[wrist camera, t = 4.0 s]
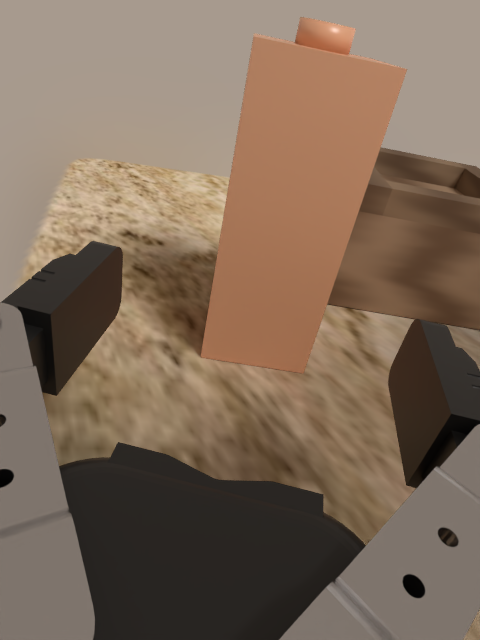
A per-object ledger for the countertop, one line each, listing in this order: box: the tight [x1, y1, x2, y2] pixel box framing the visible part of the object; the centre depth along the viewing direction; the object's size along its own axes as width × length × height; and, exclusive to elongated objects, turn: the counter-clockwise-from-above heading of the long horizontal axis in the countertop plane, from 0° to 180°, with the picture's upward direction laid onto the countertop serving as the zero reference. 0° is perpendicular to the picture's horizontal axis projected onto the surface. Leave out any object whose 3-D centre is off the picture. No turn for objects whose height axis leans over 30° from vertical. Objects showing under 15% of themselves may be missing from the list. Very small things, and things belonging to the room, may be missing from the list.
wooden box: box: [327, 148, 480, 330], centre depth 30 cm, size 11×11×8 cm
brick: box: [201, 17, 407, 373], centre depth 19 cm, size 5×5×14 cm
